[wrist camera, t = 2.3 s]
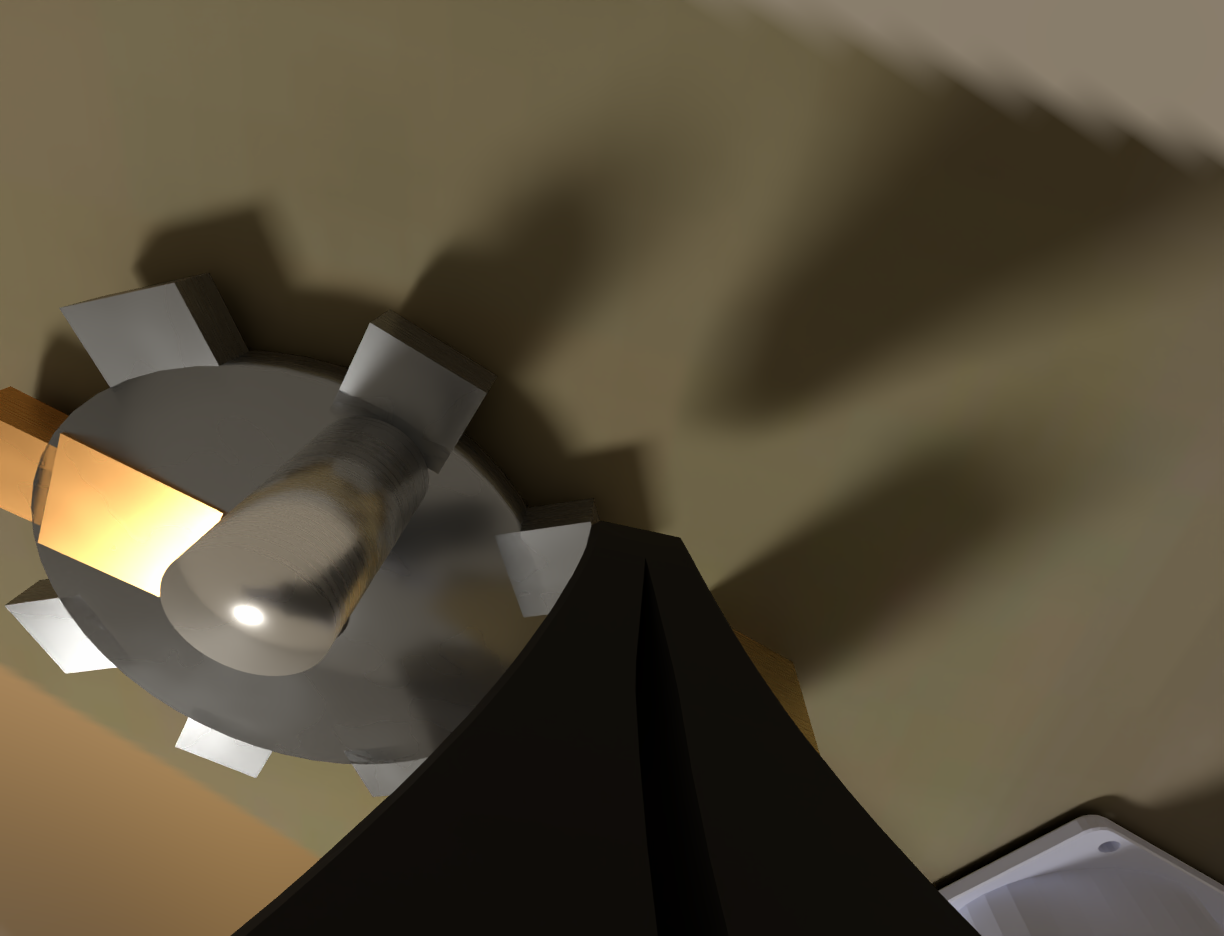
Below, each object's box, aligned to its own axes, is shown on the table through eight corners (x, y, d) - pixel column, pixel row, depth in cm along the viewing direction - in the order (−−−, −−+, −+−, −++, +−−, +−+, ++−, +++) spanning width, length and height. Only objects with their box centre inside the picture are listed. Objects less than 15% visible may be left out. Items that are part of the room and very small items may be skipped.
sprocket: (734, 522, 11) (784, 719, 7) (452, 821, 16) (393, 1027, 13) (53, 102, 8) (-457, 62, 4) (-27, 627, 14) (-293, 818, 10)
